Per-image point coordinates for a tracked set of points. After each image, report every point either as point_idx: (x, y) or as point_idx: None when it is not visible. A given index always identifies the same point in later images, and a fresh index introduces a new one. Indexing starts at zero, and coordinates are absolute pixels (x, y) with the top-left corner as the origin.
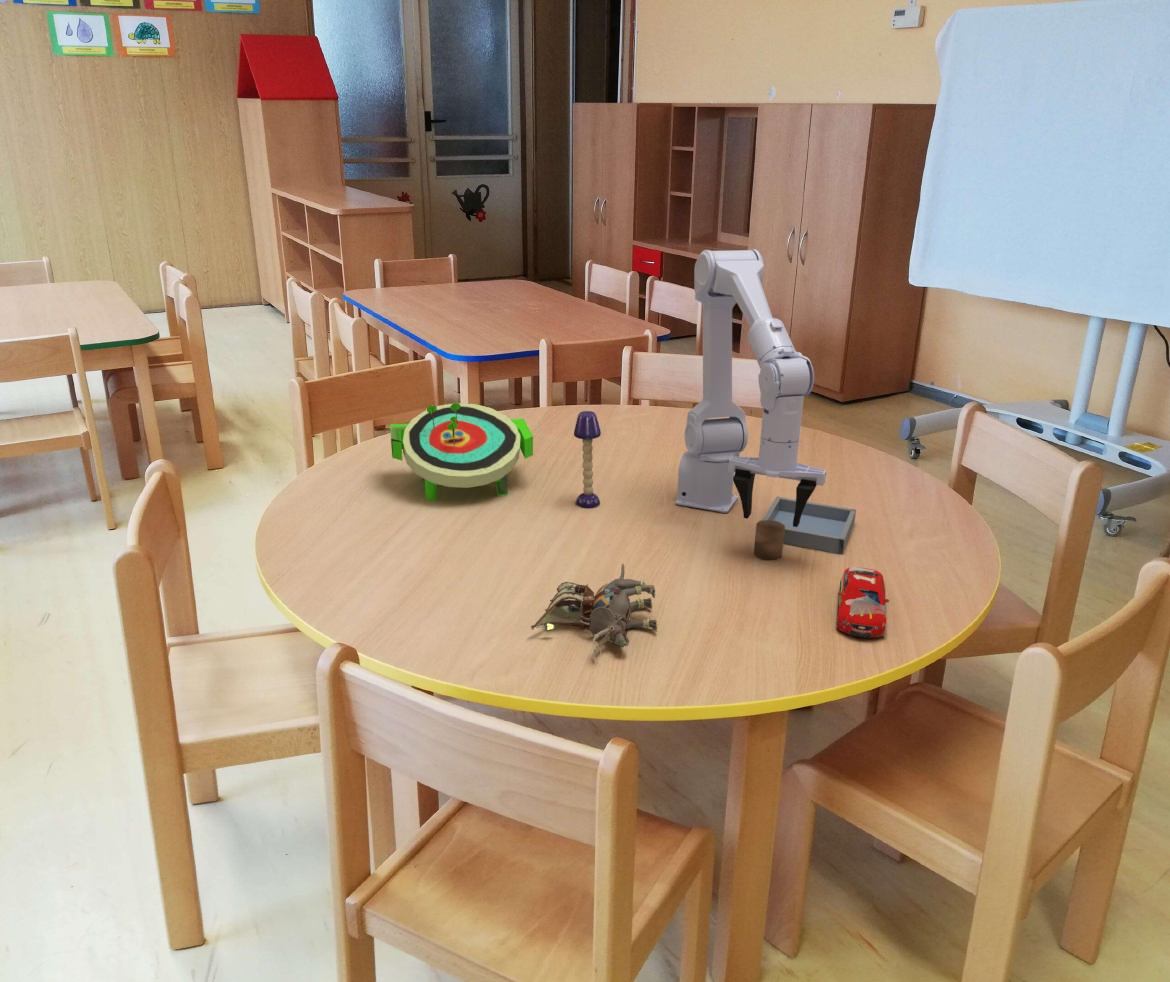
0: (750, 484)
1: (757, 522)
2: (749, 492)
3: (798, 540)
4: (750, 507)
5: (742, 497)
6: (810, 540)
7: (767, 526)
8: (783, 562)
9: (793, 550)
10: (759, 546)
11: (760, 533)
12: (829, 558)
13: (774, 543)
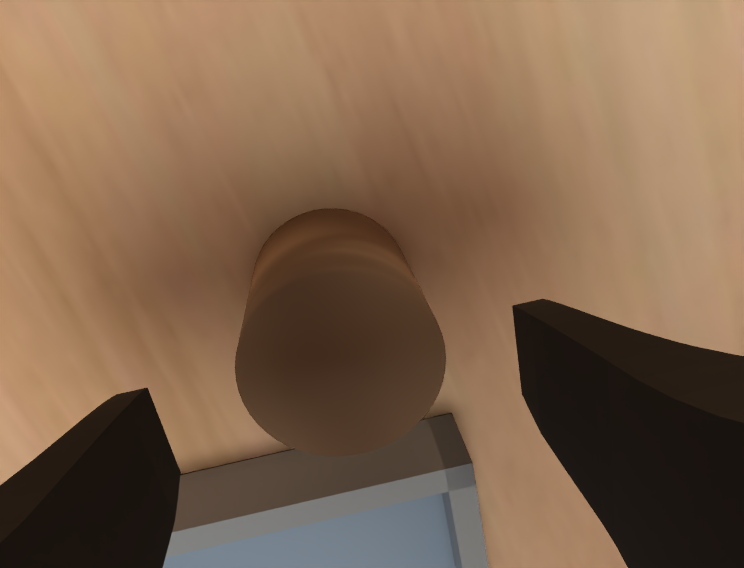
0: (701, 550)
1: (445, 360)
2: (640, 462)
3: (246, 479)
4: (547, 406)
5: (673, 352)
6: (182, 502)
7: (355, 342)
8: (214, 247)
9: (244, 406)
10: (360, 230)
11: (373, 262)
12: (50, 434)
13: (269, 268)
